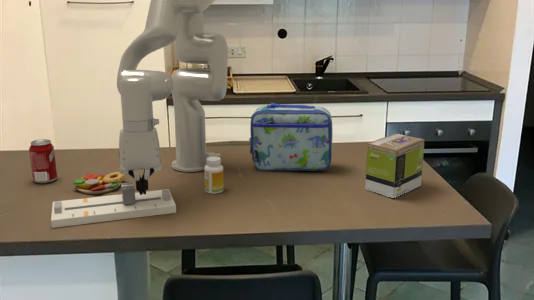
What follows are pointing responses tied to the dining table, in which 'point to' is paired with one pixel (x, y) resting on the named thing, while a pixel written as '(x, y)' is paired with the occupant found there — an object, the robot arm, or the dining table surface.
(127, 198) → the fader knob
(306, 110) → the lunch box
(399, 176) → the tea box
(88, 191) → the toy food set
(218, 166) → the supplement bottle
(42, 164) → the soda can
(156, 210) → the console board
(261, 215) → the dining table surface
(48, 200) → the dining table surface
